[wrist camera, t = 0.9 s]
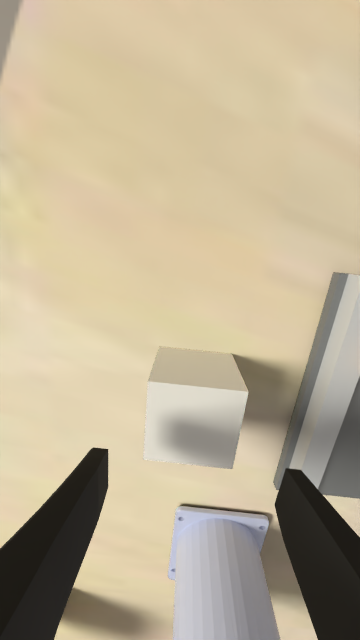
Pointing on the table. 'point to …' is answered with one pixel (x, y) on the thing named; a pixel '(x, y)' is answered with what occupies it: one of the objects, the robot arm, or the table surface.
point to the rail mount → (330, 399)
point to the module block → (194, 408)
